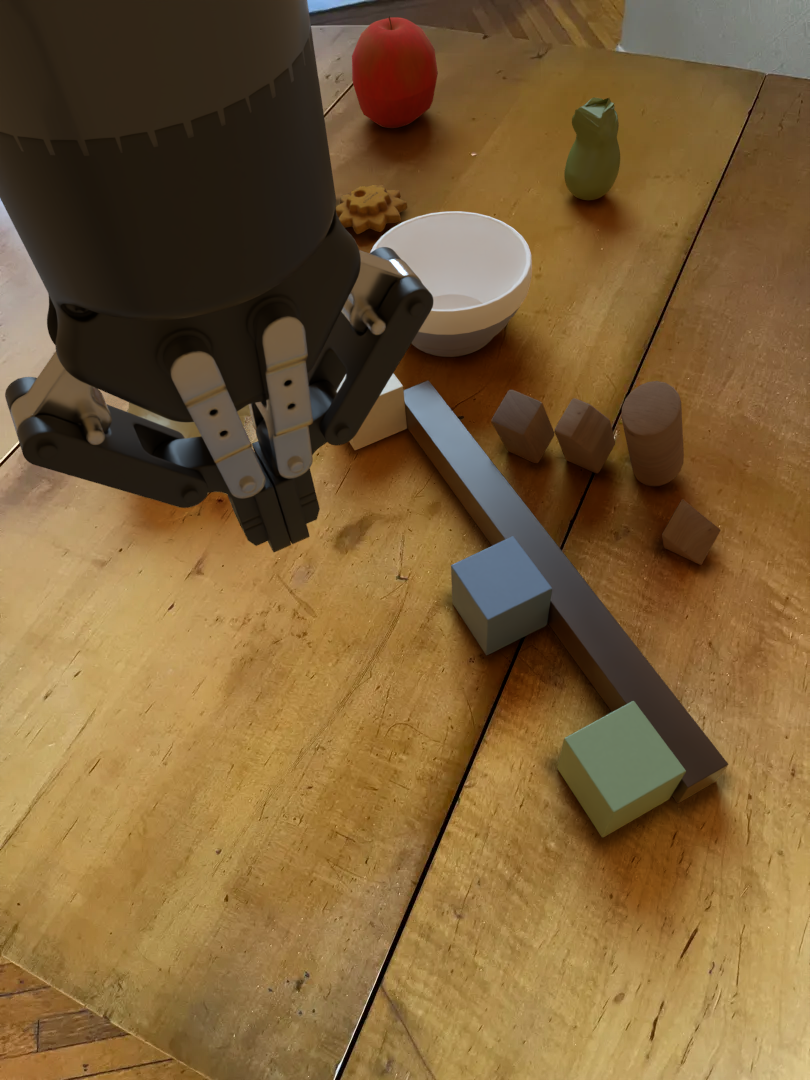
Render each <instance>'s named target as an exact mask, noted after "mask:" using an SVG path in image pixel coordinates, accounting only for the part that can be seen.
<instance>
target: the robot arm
mask: <svg viewBox="0 0 810 1080" xmlns="http://www.w3.org/2000/svg"><path fill="white" fill-rule="evenodd" d="M309 9H310V8H309V3H308V0H0V201H1V203H2V205H3V207H4V209H5V211H6V213H7V215H8V216H9V219H10V221H11V223H12V225H13V227H14V229H15V230H16V233H17V235H18V236H19V238H20V240H21V243H22V244H23V246H24V249H25V250H26V252H27V254H28V256H29V258H30V260H31V263H32V264H33V267H34V268H35V270H36V272H37V274H38V276H39V278H40V280H41V282H42V284H43V285H44V288H45V290H46V292H47V294H48V310H47V314H46V325H47V332H48V335H49V337H50V340H51V342H52V343H53V345H54V346H55V351H54V353H53V354H52V356H51V357H50V359H49V360H48V362H47V363H46V365H45V366H44V367H43V369H42V370H41V371H40V373H39V374H38V376H37V377H35V376H23V377H19V378H17V379H15V380H13V381H12V382H10V383H9V384H8V386H7V387H6V388H5V393H4V397H5V401H6V404H7V407H8V408H7V409H8V411H9V414H10V417H11V420H12V425H13V427H14V430H15V434H16V437H17V440H18V443H19V446H20V448H21V449H20V450H21V452H22V456H23V458H24V459H25V461H27V462H28V463H29V464H31V465H33V466H36V467H40V468H44V469H46V470H50V471H53V472H57V473H61V474H63V475H68V476H71V477H75V478H78V479H81V480H84V481H88V482H90V483H95V484H99V485H102V486H105V487H109V488H112V489H116V490H120V491H123V492H126V493H129V494H132V495H136V496H139V497H142V498H146V499H149V500H153V501H157V502H160V503H163V504H166V505H170V506H174V507H177V508H181V509H190V508H192V507H196V506H197V505H199V504H201V503H203V502H204V500H206V498H207V497H208V495H209V494H210V493H211V494H212V493H221V494H225V495H226V496H227V498H228V502H229V503H230V506H231V508H232V511H233V514H234V515H235V517H236V519H237V522H238V524H239V525H240V528H241V530H242V531H243V533H244V535H245V538H246V540H247V541H248V542H249V543H251V544H252V545H254V546H255V547H257V546H260V545H263V544H265V543H268V545H269V547H270V549H271V550H272V552H273V553H277V552H279V551H281V550H284V549H285V548H288V547H290V546H292V545H294V544H296V543H299V542H301V541H304V540H306V539H309V538H310V536H311V535H310V531H309V529H308V528H309V527H308V524H310V523H312V522H314V521H317V519H318V517H319V513H320V509H321V507H320V505H319V501H318V496H317V493H316V487H315V484H314V479H313V476H312V472H311V467H312V464H313V460H314V458H313V455H314V454H315V453H316V452H317V450H319V449H320V448H321V447H323V446H325V444H327V443H328V444H329V445H331V446H342V445H345V444H347V443H350V442H349V441H350V440H351V439H353V438H354V436H355V435H356V434H357V432H358V430H359V429H360V427H361V426H362V424H363V422H364V421H365V419H366V417H367V416H368V414H369V412H370V411H371V409H372V407H373V406H374V404H375V402H376V401H377V399H378V397H379V396H380V394H381V392H382V391H383V389H384V388H385V386H386V384H387V383H388V381H389V379H390V378H391V376H392V374H393V373H394V374H395V371H396V369H397V368H398V366H399V364H400V363H401V361H402V359H403V358H404V356H405V354H407V351H408V350H409V348H410V347H411V345H412V341H413V340H414V338H415V336H416V335H417V333H418V331H419V330H420V328H421V326H422V325H423V323H424V321H425V320H426V318H427V316H428V315H429V313H430V311H431V309H432V307H433V296H432V294H431V293H430V292H429V291H428V290H427V288H426V287H425V286H424V285H423V284H422V282H421V280H420V279H419V278H418V276H417V275H416V274H415V273H414V272H413V271H412V269H411V268H410V267H409V266H408V265H407V264H406V263H405V262H404V261H403V260H401V258H400V257H399V256H398V255H397V254H396V253H395V251H394V250H392V249H391V248H388V247H381V248H378V249H376V250H374V251H372V252H371V251H370V252H371V253H370V252H367V251H363V250H361V249H359V245H358V243H357V242H356V239H355V238H354V237H353V235H352V234H351V233H350V232H349V231H348V230H347V229H346V228H344V226H343V225H342V224H341V222H340V220H339V218H338V216H337V212H336V206H337V197H336V190H335V189H336V188H335V181H334V175H333V169H332V162H331V161H332V160H331V156H330V154H331V153H330V147H329V141H328V140H329V139H328V134H327V128H326V127H327V126H326V120H325V114H324V107H323V105H324V104H323V100H322V92H321V87H320V78H319V73H318V66H317V58H316V51H315V45H314V38H313V37H314V36H313V30H312V24H311V17H310V10H309ZM345 375H346V378H345V380H344V382H343V384H342V386H341V387H340V389H339V391H338V393H337V389H338V387H339V385H340V384H341V382H342V380H343V378H344V377H345ZM102 392H104V393H107V394H108V395H111V396H113V397H115V398H118V399H121V400H122V401H125V402H128V404H129V403H132V404H134V405H136V406H139V407H141V408H143V409H146V410H148V411H150V412H152V413H155V414H157V415H159V416H162V417H164V418H166V419H169V420H173V421H177V422H194V423H195V425H196V427H197V428H198V430H199V432H200V434H201V437H193V438H184V436H183V435H182V434H181V433H180V432H178V431H176V430H173V429H171V428H168V427H165V426H163V425H160V424H157V423H155V422H152V421H149V420H147V419H144V418H142V417H139V416H136V415H134V414H131V413H128V412H127V410H123V409H120V408H117V407H116V406H114V405H113V406H112V405H110V404H107V402H106V400H105V396H104V395H103V393H102ZM248 404H249V409H250V414H251V416H250V419H251V424H252V427H253V429H254V431H255V436H256V439H257V440H256V441H254V442H252V443H251V440H250V437H249V435H248V433H247V430H246V429H245V425H244V426H243V424H242V422H241V420H240V417H239V415H238V413H237V411H239V410H240V409H242V408H244V407H245V406H247V405H248Z"/></svg>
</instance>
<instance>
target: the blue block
mask: <svg viewBox="0 0 810 1080" xmlns="http://www.w3.org/2000/svg"><path fill="white" fill-rule="evenodd" d="M450 577H451V578H450V579H451V603H452V605H453V606H454V608H455V609H456V611H457V613H458V614H459V616H460V617H461V618H462V620H463V622H464V623H465V625H466V626H467V628H468V629H469V631H470V633H471V635H472V636H473V638H474V639H475V641H476V642H477V644H478V646H479V647H480V648H481V650H482V651H483V653H484V654H485V656H489V655H490V654H493V653H495V652H497V651H498V650H501V649H502V648H505V647H506V646H509V645H511V644H513V643H515V642H517V641H518V640H521V639H522V638H524V637H526V636H528V635H531V634H533V633H535V632H536V631H539V630H541V629H543V628H545V627H546V626H547V625H548V623H547V620H548V614H549V607H550V601H551V594H552V587H551V586H550V585H549V583H548V582H547V581H546V579H545V578H544V577H543V575H542V574H541V573H540V571H539V570H538V569H537V567H536V566H535V565H534V563H533V562H532V561H531V559H530V558H529V557H528V555H527V554H526V552H525V551H524V550H523V548H522V547H521V546H520V544H519V543H518V542H517V540H516V539H515V538H514V537H513V536H512V537H510V538H508V539H506V540H503V541H501V542H499V543H497V544H495V545H493V546H492V545H491V546H489V547H485V549H483V550H480V551H478V552H475V553H474V554H471V555H470V556H467V557H465V558H463V559H461V560H458V561H457V562H455V563H453V564H451V565H450Z"/></svg>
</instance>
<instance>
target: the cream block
mask: <svg viewBox="0 0 810 1080" xmlns="http://www.w3.org/2000/svg"><path fill="white" fill-rule="evenodd" d="M345 378H346V375H345V377H344V378H343V380H342V382H341V384H340V385H339V387H338V389H337V393H338V391H339V389H340V387H341V386H342V384H343V382H344V380H345ZM404 390H405V389H404V385H403V384H402V383H401V381H400V379H398V377H397V376H396V375H395V372H394V373H393V374H392V376H391V378H390V379H389V381H388V383H387V384H386V386H385V388H384V389H383V391H382V392H381V394H380V396H379V397H378V399H377V401H376V402H375V404H374V406H373V407H372V409H371V411H370V412H369V414H368V416H367V417H366V419H365V421H364V422H363V424H362V426H361V427H360V429H359V430H358V432H357V434H356V435H355V436H354V438H353V439H351V440H350V441H349V442H348V443H349V444H350V446H351V447H352V448H353V450H354V451H357V450H360V449H362V448H364V447H367V446H369V445H371V444H374V443H376V442H378V441H381V440H384V439H386V438H388V437H390V436H393V435H396V434H397V433H401V432H403V431H405V430H408V429H407V423H406V411H405V400H404Z"/></svg>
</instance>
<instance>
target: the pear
mask: <svg viewBox="0 0 810 1080" xmlns="http://www.w3.org/2000/svg"><path fill="white" fill-rule="evenodd" d="M571 126H572V129H573V131H574V133H575V135H576V136H575V140H574V141H573V144H572V145H571V147H570V150H569V152H568V156H567V158H566V161H565V167H564V171H563V172H564V174H563V176H564V183H565V185H566V188H567V190H568V191H569V192H570V193H571V194H572V195H573V196H574V197H575V198H577V199H580V200H581V201H582V200H583V201H594V200H598V199H601V198H602V197H604V196H605V195H607V194H608V193H609V192H610V191H611V189H612V188H613V187H614V184H615V182H616V181H617V178H618V174H619V172H620V171H619V170H620V165H621V149H620V144H619V141H618V134H619V126H620V125H619V115H618V113H617V110H615V102H613V101H611V98H610V97H607V98H604V99H603V98H600V97H594V96H593V97H592V98H590V99H589V100H588V101H587V102H586V103H584V104H583V105H582V106H580V107H578V108H577V109H575V111H574V114H573V116H572V118H571Z"/></svg>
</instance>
